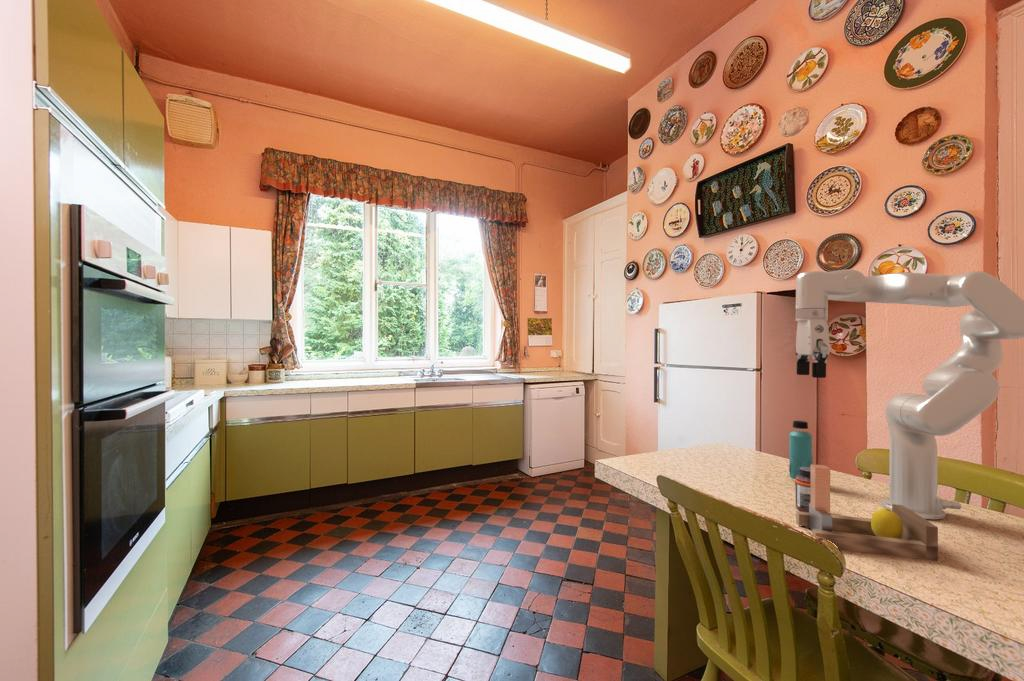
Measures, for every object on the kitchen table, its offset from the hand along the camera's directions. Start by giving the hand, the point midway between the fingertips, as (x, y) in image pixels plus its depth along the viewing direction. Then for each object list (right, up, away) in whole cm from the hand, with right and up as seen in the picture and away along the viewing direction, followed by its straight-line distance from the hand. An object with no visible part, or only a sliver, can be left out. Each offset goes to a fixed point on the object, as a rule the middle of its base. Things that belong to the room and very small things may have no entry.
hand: (810, 376), depth 123 cm
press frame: (-4, -36, -23) cm, 43 cm away
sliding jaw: (-12, -36, -21) cm, 43 cm away
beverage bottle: (+9, -36, +18) cm, 41 cm away
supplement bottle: (-4, -36, -5) cm, 37 cm away
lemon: (+1, -36, -25) cm, 44 cm away
